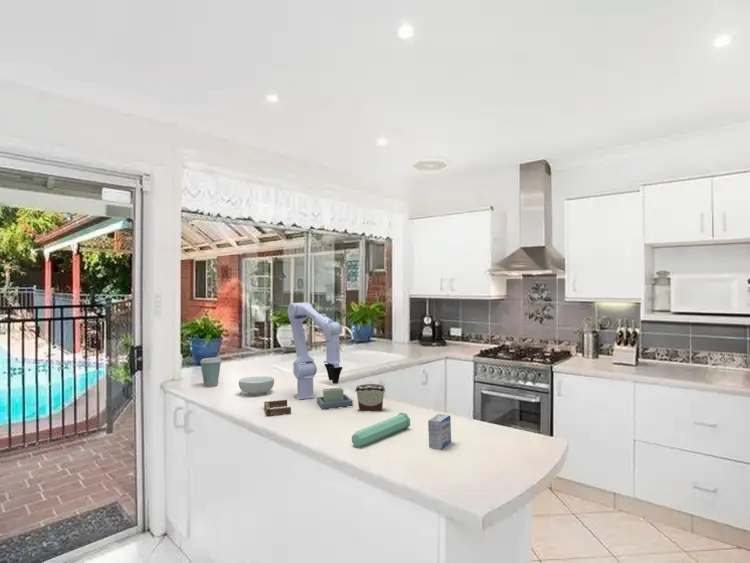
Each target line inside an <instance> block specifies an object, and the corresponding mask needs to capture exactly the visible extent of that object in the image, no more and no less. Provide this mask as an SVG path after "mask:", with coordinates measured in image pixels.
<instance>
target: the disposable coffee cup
mask: <svg viewBox="0 0 750 563" xmlns="http://www.w3.org/2000/svg"><path fill="white" fill-rule="evenodd" d="M199 363H200V368H201V375H202V381H203V385H204V387H205V388H207V387H208V388H210V387H211V388H212V387H217V386H218V383H219V377H220V371H221V363H222V358H221V356H216V357H215V356H214V357H205V358H202V359H201V360H200V362H199Z"/></svg>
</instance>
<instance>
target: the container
mask: <svg viewBox="0 0 750 563" xmlns="http://www.w3.org/2000/svg"><path fill="white" fill-rule="evenodd" d="M410 426H411V419H410V417H409V415H408V414H407V413H405V412H399V413H398V414H397V415H395V416H392V417H389V418H387V419H385V420H382V421H379V422H377V423H374V424H372V425H370V426H367V427H364V428H362V429H360V430H357V431H355V432H354V433H353V434H352V436H351V443H352V445H353V446H354V447H357V448H362V447H364V446H366V445H369V444H371V443H375V441H379V440H381V439H383V438H387V437H389V436H390V435H392V434H395V433H397V432H400V431H402V430H404V429H405V430H407V429H408V428H409V427H410Z"/></svg>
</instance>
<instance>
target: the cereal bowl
mask: <svg viewBox="0 0 750 563" xmlns="http://www.w3.org/2000/svg"><path fill="white" fill-rule="evenodd" d="M238 386H239V387H238V388H239V389H240V390H241V391H242V392H244V393H246V394H248V395H249V396H260V395H261V396H262V395H264V394H266V393H267V392H269V391H271V390H272V389H273V387H274V386H275V378H274V377H273V376H269V375H267V376H266V375H258V376H257V375H256V376H255V375H254V376H247V377H242V378H240V379H239V380H238Z"/></svg>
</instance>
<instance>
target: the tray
mask: <svg viewBox="0 0 750 563" xmlns="http://www.w3.org/2000/svg"><path fill="white" fill-rule="evenodd" d="M343 394H344V393H343ZM316 403H317V405H318V404H319V405H318V406H319V407H320V409H321V408H322V409H325V410H330V409H329V408H334V409H340V408H339V407H343V408H348V407H347V406H354V405H353V400H352V398H350V397H349V396H348V394H346V393H345V394H344V401H338V402H328V403H324V402H323V396H318V397H316ZM322 409H321V410H322Z"/></svg>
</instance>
